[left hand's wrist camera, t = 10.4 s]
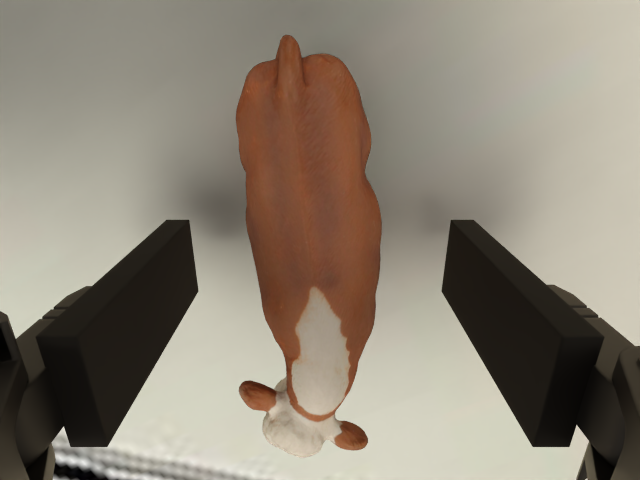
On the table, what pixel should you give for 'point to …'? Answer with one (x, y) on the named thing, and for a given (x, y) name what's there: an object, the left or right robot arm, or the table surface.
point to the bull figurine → (309, 240)
